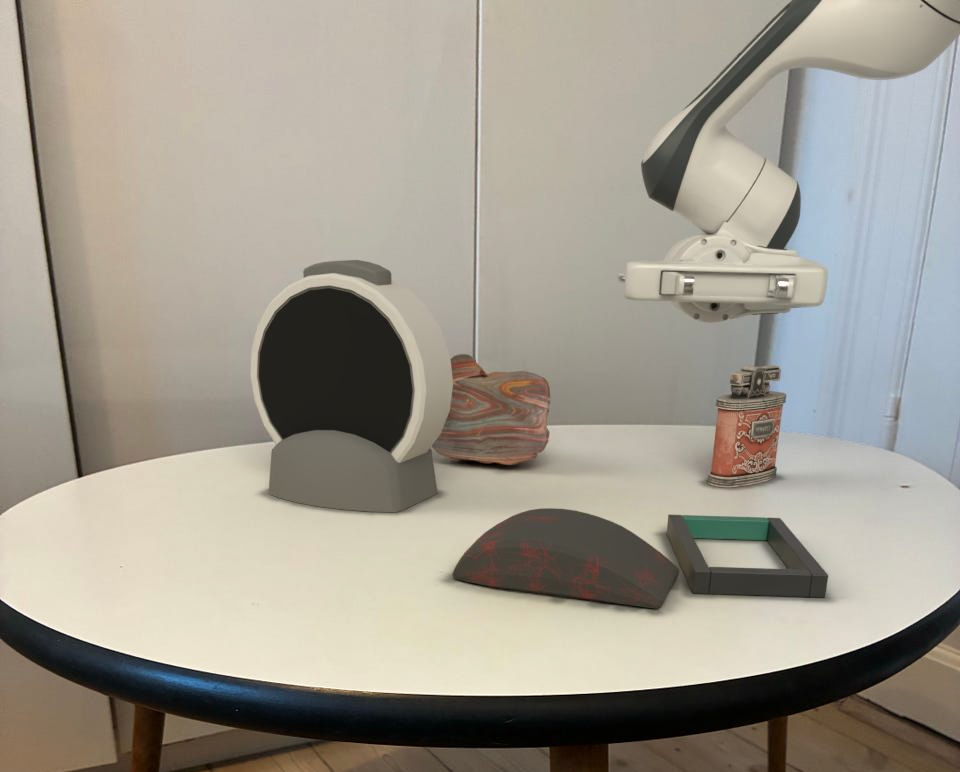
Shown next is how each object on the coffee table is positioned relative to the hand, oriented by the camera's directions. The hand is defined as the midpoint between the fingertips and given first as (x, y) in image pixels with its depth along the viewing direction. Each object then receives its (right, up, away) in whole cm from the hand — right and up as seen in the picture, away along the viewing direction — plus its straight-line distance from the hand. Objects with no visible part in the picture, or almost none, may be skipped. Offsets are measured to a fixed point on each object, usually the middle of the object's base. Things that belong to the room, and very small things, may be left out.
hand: (735, 287), depth 98 cm
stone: (-23, -17, 0) cm, 29 cm away
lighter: (-1, -19, -5) cm, 20 cm away
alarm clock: (-35, -22, -12) cm, 43 cm away
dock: (-7, -29, -28) cm, 41 cm away
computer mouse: (-19, -30, -32) cm, 48 cm away
